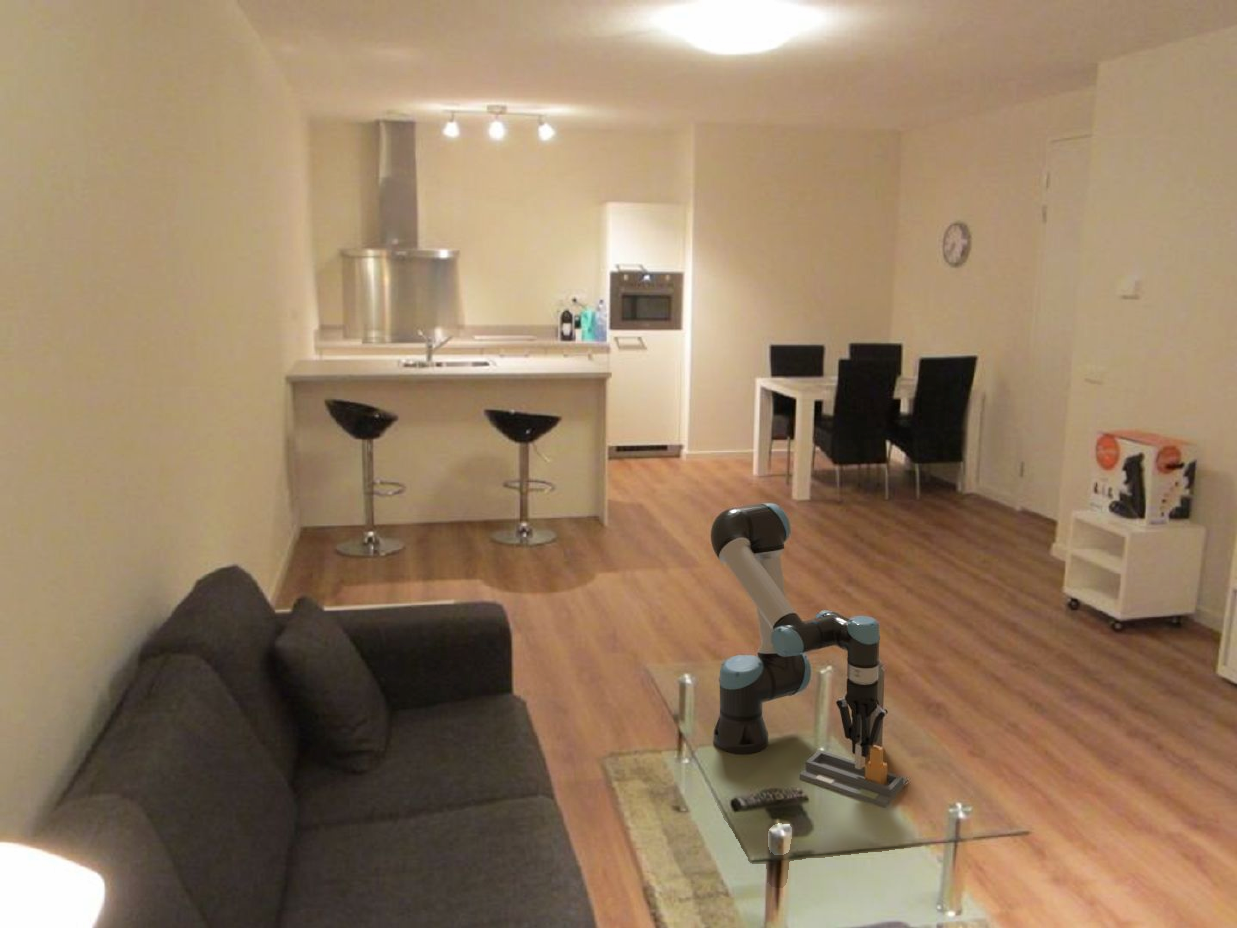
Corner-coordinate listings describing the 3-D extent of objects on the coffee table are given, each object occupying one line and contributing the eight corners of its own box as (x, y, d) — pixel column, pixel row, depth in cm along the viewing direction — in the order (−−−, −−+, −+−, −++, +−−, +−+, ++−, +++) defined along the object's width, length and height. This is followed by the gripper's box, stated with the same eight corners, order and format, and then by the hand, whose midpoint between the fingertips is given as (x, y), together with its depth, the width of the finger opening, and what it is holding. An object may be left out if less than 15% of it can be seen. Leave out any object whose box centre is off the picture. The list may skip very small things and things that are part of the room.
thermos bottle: (881, 739, 262) (884, 644, 256) (883, 754, 254) (886, 655, 249) (851, 737, 263) (853, 642, 258) (852, 751, 256) (855, 654, 250)
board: (799, 778, 243) (799, 766, 242) (824, 756, 254) (825, 745, 253) (884, 807, 229) (885, 795, 228) (907, 783, 239) (908, 771, 239)
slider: (864, 783, 237) (865, 748, 235) (871, 776, 240) (872, 742, 238) (879, 788, 234) (881, 753, 232) (886, 781, 237) (887, 747, 236)
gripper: (831, 677, 236) (829, 764, 240) (880, 690, 228) (878, 780, 232) (844, 667, 241) (842, 753, 246) (893, 680, 233) (890, 768, 238)
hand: (860, 766), depth 239 cm, fingers closed
